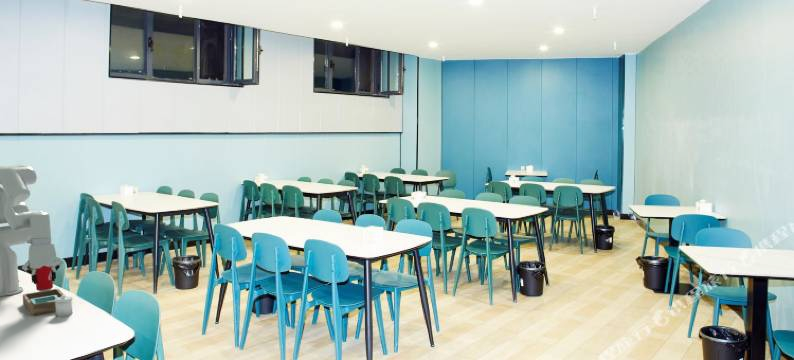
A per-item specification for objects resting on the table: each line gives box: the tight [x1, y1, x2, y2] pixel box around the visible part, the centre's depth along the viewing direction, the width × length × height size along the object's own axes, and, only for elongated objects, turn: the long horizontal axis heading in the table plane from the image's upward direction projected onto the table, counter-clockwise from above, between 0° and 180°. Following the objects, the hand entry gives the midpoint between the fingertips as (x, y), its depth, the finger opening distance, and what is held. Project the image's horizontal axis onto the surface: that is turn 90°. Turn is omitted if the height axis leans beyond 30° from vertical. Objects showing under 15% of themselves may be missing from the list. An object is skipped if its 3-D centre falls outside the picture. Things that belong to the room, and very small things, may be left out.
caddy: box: [22, 288, 65, 317], centre depth 258 cm, size 22×14×4 cm, turn 40°
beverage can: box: [35, 266, 54, 292], centre depth 257 cm, size 6×6×12 cm
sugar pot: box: [54, 294, 73, 318], centre depth 247 cm, size 7×7×8 cm
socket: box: [30, 295, 59, 305], centre depth 258 cm, size 10×10×2 cm
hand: (44, 281), depth 257 cm, fingers closed on beverage can, 6 cm apart
